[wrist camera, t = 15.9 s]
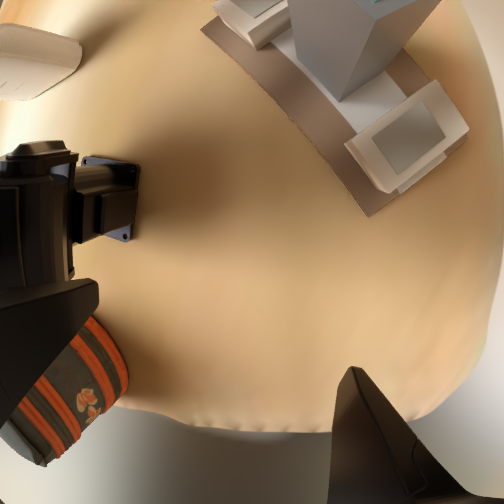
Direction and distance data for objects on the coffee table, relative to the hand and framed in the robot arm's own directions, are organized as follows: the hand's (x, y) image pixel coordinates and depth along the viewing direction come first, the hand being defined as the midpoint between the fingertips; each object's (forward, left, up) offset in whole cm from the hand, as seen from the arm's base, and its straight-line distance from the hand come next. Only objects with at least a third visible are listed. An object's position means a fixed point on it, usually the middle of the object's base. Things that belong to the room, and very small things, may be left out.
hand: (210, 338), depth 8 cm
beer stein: (-21, -21, -12) cm, 32 cm away
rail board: (+2, +13, -12) cm, 18 cm away
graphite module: (+2, +13, -11) cm, 17 cm away
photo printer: (-26, +12, -12) cm, 31 cm away
